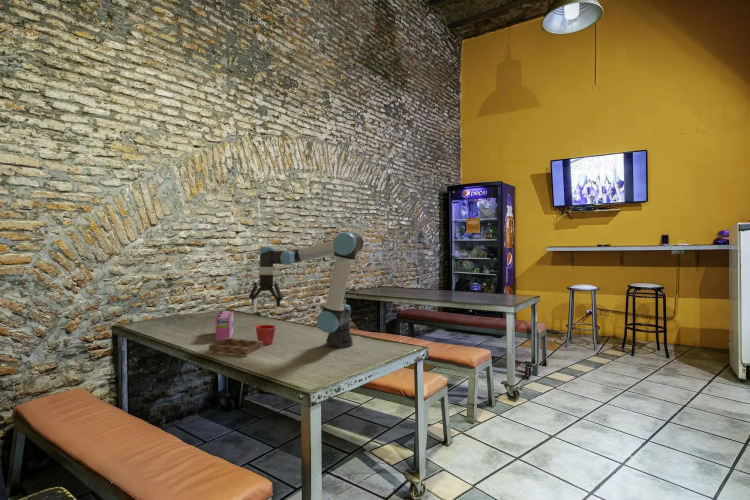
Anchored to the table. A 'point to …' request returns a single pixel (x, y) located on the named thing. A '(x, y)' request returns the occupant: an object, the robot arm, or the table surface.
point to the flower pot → (265, 333)
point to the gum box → (224, 325)
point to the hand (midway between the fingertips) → (265, 311)
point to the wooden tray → (236, 347)
